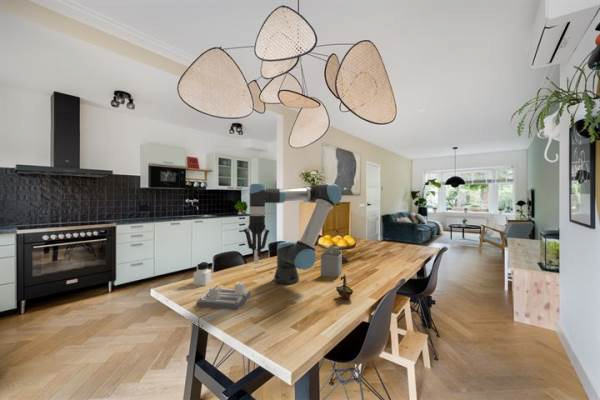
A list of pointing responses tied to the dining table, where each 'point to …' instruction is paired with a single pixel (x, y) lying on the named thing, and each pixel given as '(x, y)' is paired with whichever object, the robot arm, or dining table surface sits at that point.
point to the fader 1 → (215, 293)
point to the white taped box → (240, 288)
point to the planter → (331, 262)
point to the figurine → (344, 289)
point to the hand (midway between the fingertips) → (256, 262)
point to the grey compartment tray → (224, 300)
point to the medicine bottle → (202, 274)
